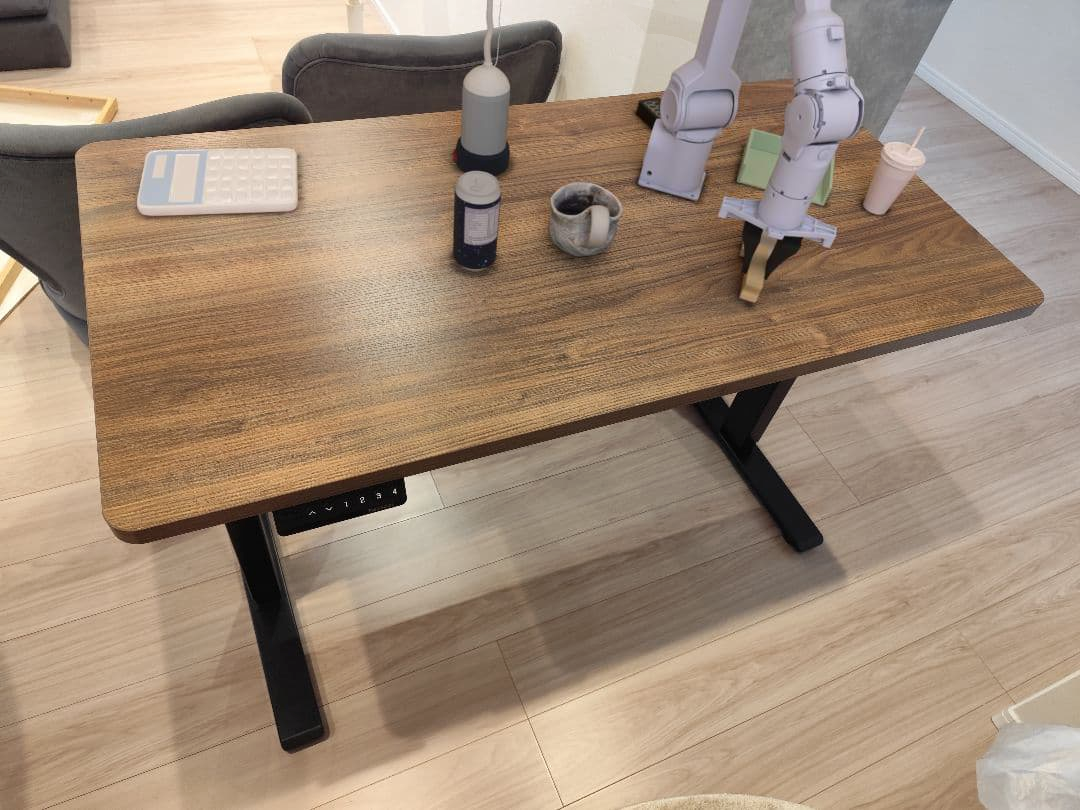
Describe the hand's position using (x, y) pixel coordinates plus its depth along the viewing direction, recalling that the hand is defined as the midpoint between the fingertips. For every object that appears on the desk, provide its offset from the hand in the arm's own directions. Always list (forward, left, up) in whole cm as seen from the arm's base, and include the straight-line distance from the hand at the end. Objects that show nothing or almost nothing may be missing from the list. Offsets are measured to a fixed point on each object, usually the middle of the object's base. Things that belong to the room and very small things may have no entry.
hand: (754, 271), depth 99 cm
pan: (+2, +34, -2) cm, 34 cm away
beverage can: (-36, -11, -2) cm, 38 cm away
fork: (0, +3, -1) cm, 4 cm away
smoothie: (+17, +28, -2) cm, 33 cm away
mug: (-23, -3, -2) cm, 23 cm away
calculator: (-73, -11, -2) cm, 74 cm away
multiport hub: (-19, +34, -2) cm, 39 cm away
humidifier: (-43, +11, -2) cm, 44 cm away
